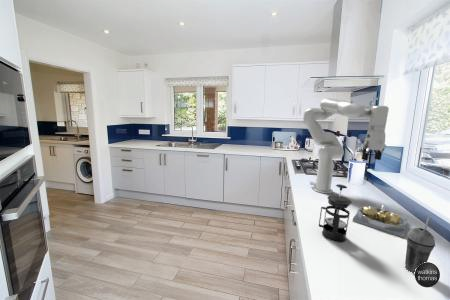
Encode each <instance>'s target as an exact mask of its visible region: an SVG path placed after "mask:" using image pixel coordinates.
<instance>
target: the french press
mask: <svg viewBox="0 0 450 300" xmlns="http://www.w3.org/2000/svg"><path fill="white" fill-rule="evenodd" d="M335 187H336V188H339V195H332V194H331V195H328V196H327V200H328V201H327V203H328V204H329V205H327V206H326V207H325V206H321V207H320V214H319V219H318V221H319V222H318V227H320V228H321V229H322V231H321V234H322V236H323V238H326V239H327V240H329V241H331V242H335V243H344V242H346V240H347V231H348V225H349V218H350V211H349V210H348V209H347V208H348V207H349V206H350V205H351V204H352V200H351V199H349V198H347V197H344V196H342V195H341V194H342V191H343V189H348V187H347V186H346V185H345V184H335ZM330 209H331V210H333V209H334V212H332V211H330ZM322 210H325V212H324V220H323V224H321V219H322ZM340 211H342V212H343V213H346V214H340ZM327 214H328V215H329V216H332V217H326V215H327ZM342 219H347V220H346V222H345V221H343V220H342Z"/></svg>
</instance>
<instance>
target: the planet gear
mask: <svg viewBox="0 0 450 300" xmlns="http://www.w3.org/2000/svg"><path fill="white" fill-rule="evenodd" d="M392 212H393V211H390V212H385V217H384V223H386V224H394V225H398V224H400V219H401V217H402V216H401V215H400V214H398V213H396V212H393V213H394V214H395V216H391V213H392ZM400 216H401V217H400Z"/></svg>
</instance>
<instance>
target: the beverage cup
mask: <svg viewBox="0 0 450 300" xmlns="http://www.w3.org/2000/svg"><path fill="white" fill-rule="evenodd" d="M430 219H431V216H427V219H426V221H425V225H424V227H414V228H412V229H410V230H409V231H408V232H407V234H406V252H405V262H404V269H405V268H406V269H405V270H406V271H407V270H408V272H409V271H410V272H412V273H413V275H415V274H414V272H415V269H416V268H417V267H418V266H419V265H420V264H422V263H424V262H428V261H429V259H430V257H431V256H430V255H431V253H432V251H433V250H434V248H435V247H436V240H435V237H434V235H433V234H432V232H430V231H429V230H427V227H428V225H429V223H430V222H429V221H430ZM410 272H409V273H410ZM412 273H411V274H412Z"/></svg>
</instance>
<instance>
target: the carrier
mask: <svg viewBox="0 0 450 300" xmlns="http://www.w3.org/2000/svg"><path fill="white" fill-rule="evenodd" d="M385 212H392V213H391V216H395V214H394V213H395V212H393V211H390V210H387V209H386V205H384V204H382V205H381V207H376V206H370V205H364V206H360V207H359V208H358V209H357V212H356V214H354V216H353V218H352V222H354V223H357V224H360V225H363V226H366V227H369V228H372V229H375V230H378V231H381V232H385V233H387V234H390V235H393V236H396V237H400V238H402V239H404V237H405V233H406V228H407V223H408V219H407V218H406V219H405V218H404V217H402V216H401V215H400V217H401V219H400V224H398V225H394V224H386V223H384V217H385Z"/></svg>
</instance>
